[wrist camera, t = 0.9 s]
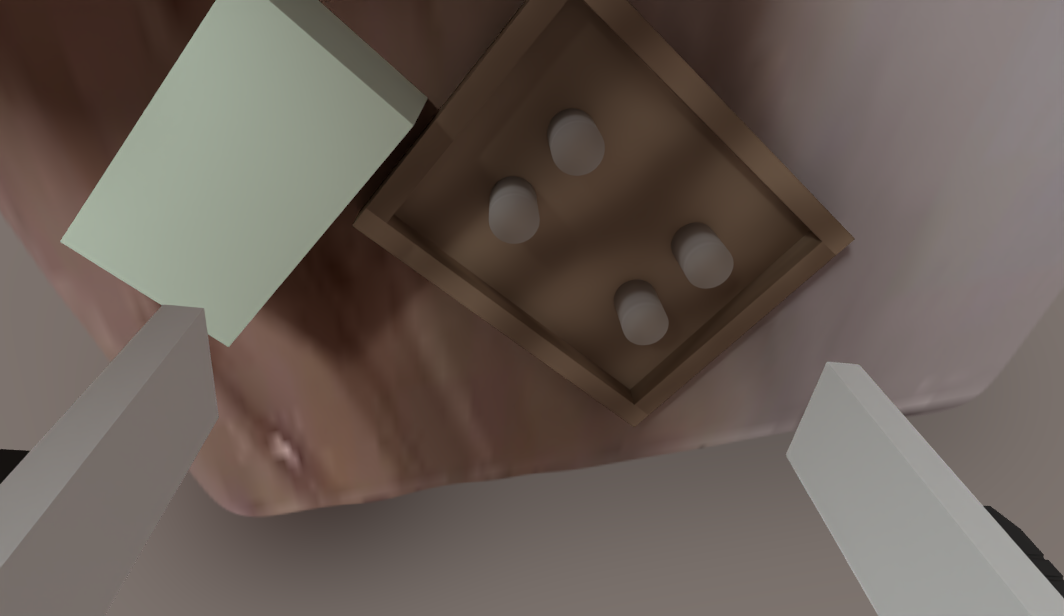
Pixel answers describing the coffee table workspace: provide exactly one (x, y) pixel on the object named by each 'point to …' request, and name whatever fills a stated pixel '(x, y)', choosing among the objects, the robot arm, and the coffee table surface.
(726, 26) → the coffee table surface
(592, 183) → the peg frame
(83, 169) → the coffee table surface
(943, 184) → the coffee table surface
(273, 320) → the coffee table surface
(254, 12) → the grey boxy block
